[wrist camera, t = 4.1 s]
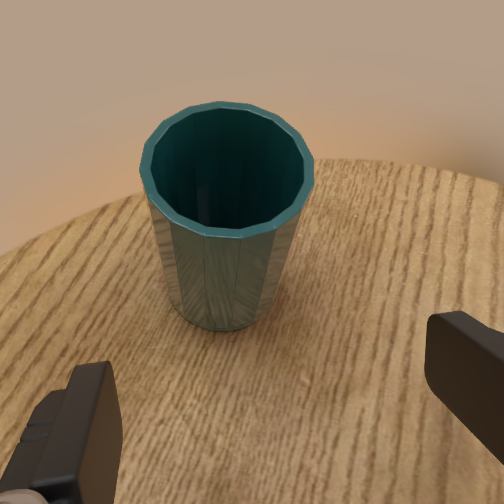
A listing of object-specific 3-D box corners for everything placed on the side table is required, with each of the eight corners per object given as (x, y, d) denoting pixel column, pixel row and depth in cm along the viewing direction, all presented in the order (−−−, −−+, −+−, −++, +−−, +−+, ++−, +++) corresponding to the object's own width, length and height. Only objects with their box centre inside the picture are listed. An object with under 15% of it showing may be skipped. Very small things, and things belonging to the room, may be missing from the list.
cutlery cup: (183, 347, 23) (166, 259, 14) (154, 245, 26) (123, 118, 17) (295, 311, 24) (342, 211, 16) (256, 218, 27) (277, 89, 18)
